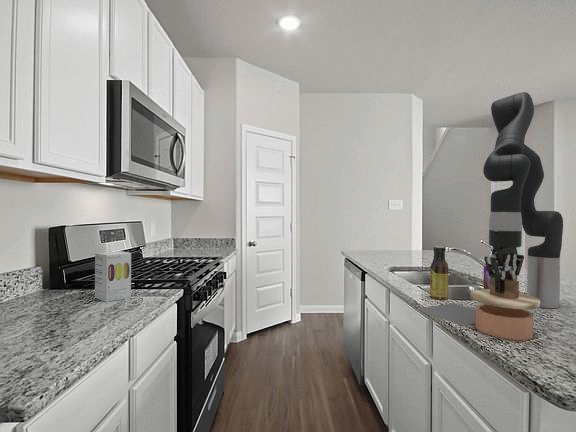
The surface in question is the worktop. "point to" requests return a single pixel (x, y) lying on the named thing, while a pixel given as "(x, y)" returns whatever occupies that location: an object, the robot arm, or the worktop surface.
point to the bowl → (504, 322)
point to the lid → (505, 296)
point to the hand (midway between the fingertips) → (503, 292)
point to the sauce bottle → (439, 275)
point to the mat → (452, 313)
